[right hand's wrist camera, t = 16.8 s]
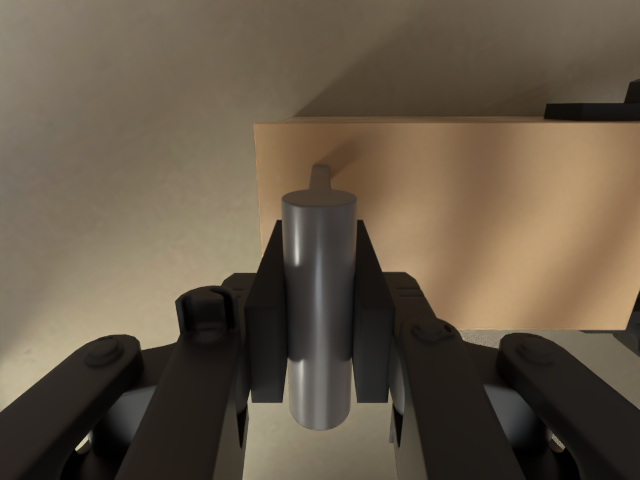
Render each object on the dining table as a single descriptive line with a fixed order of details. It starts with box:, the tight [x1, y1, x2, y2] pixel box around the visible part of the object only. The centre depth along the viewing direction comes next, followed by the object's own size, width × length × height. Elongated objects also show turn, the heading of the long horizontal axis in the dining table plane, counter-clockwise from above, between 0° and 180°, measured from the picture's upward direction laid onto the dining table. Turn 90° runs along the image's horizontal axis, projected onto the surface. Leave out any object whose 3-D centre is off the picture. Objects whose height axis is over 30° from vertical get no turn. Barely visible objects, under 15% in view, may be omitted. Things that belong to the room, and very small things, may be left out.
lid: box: [253, 122, 640, 430], centre depth 13 cm, size 18×10×8 cm, turn 90°
